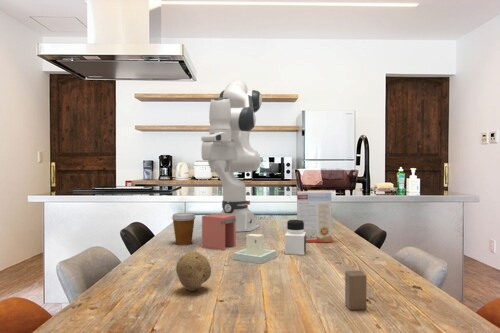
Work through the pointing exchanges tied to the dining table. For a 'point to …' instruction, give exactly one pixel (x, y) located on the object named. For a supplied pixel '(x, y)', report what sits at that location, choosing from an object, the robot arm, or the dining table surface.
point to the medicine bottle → (295, 238)
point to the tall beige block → (255, 244)
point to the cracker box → (315, 214)
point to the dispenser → (218, 231)
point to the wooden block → (355, 290)
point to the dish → (254, 256)
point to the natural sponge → (193, 270)
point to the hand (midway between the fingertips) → (220, 172)
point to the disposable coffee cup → (183, 227)
